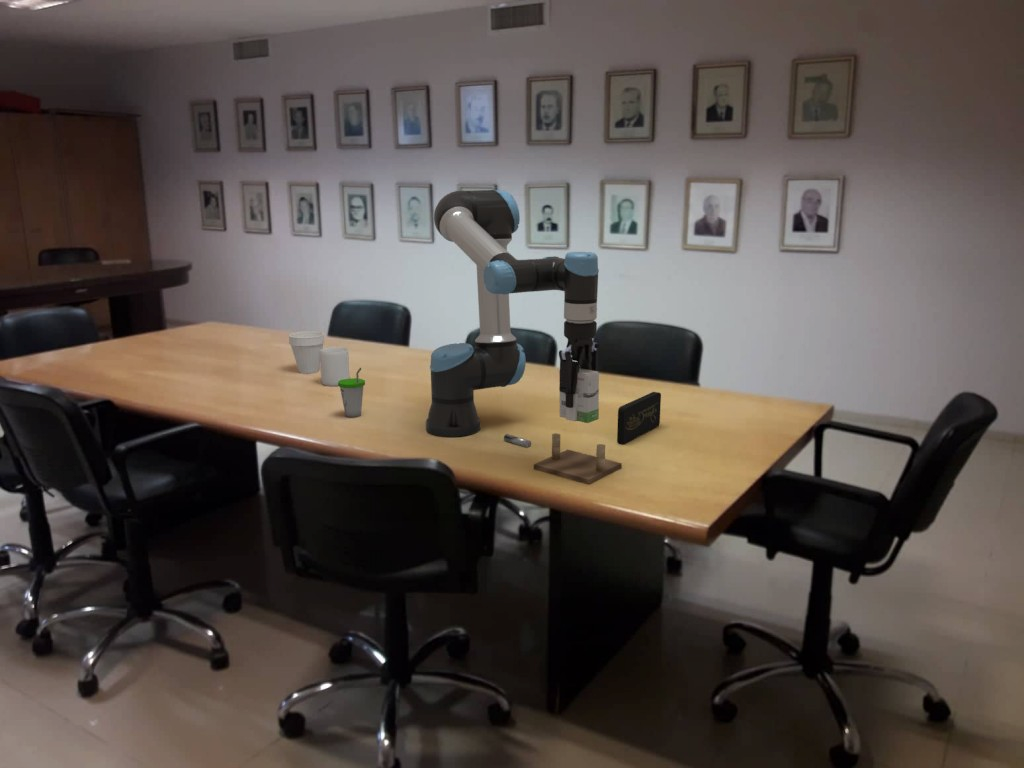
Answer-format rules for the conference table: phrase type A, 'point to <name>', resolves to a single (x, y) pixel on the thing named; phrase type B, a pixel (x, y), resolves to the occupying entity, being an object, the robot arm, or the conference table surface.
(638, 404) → the nameplate
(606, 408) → the conference table surface
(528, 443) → the pin
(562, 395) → the ink box
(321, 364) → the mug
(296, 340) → the white flower pot
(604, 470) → the rack
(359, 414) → the cup
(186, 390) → the conference table surface
